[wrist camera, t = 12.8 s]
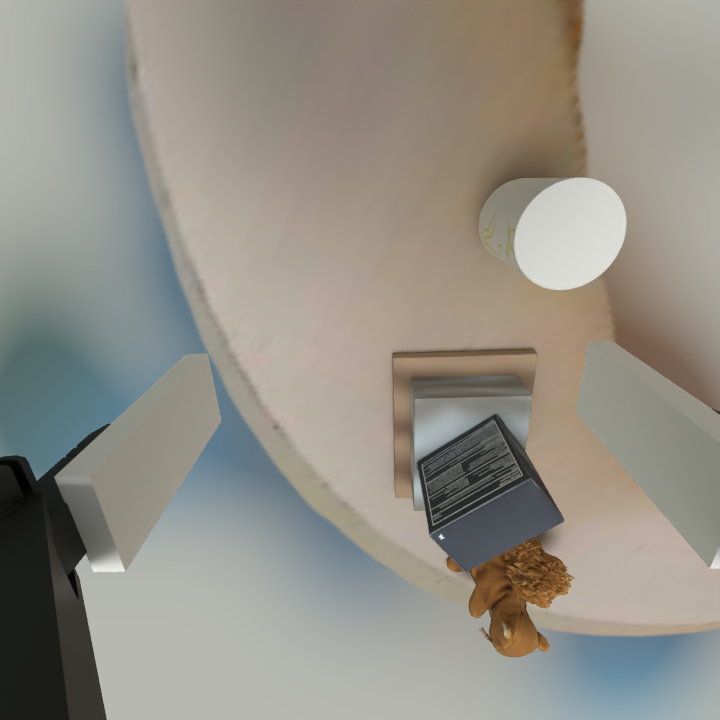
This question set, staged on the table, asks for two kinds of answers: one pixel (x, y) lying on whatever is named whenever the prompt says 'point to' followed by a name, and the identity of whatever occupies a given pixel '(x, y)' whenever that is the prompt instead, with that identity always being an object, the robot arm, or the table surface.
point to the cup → (554, 229)
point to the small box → (484, 495)
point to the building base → (445, 369)
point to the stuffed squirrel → (516, 595)
